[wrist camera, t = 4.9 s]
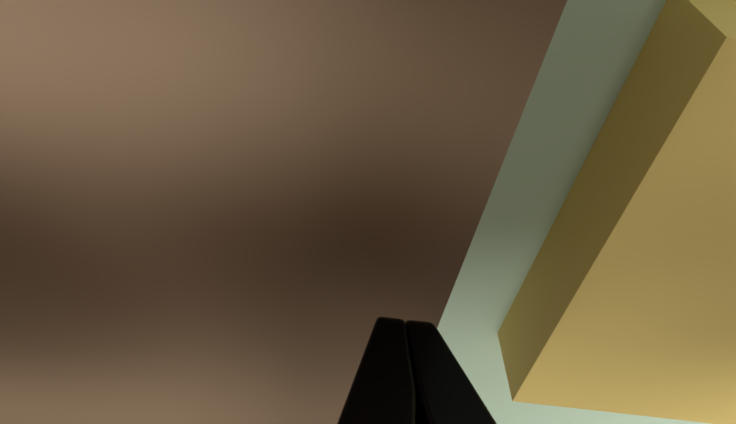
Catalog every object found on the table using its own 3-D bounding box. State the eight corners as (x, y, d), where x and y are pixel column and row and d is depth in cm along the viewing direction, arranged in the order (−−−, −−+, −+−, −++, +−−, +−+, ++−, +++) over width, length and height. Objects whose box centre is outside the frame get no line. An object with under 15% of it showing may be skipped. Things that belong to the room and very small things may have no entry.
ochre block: (512, 401, 15) (497, 333, 16) (747, 427, 16) (712, 360, 17) (726, 36, 9) (674, -14, 11) (1072, 108, 10) (977, 51, 12)
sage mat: (676, 495, 23) (679, 503, 22) (332, 465, 21) (332, 474, 21) (1670, -514, 8) (1711, -519, 7) (743, -889, 6) (759, -910, 6)
